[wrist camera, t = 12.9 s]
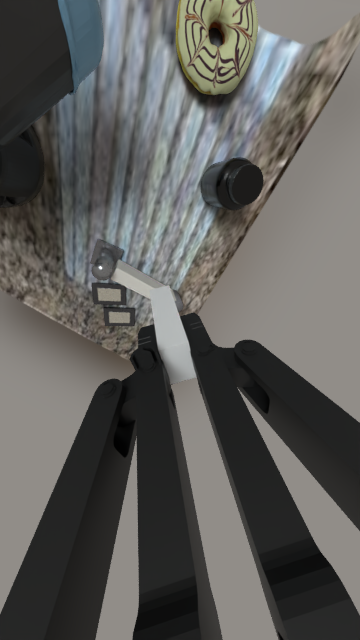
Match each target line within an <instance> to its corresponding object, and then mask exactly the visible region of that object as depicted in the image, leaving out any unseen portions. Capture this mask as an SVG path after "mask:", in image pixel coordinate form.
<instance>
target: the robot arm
mask: <svg viewBox="0 0 360 640" xmlns="http://www.w3.org/2000/svg"><path fill="white" fill-rule="evenodd" d="M103 44H104V36H103V25H102V18H101V13H100V7H99V2H98V0H0V208H9V207H15V206H19V205H23V204H25V203H27V202H29V201H31V200H32V199H33V198H34V197H35V196H36V195H37V194H38V192H39V190H40V189H41V186H42V183H43V179H44V159H43V154H42V150H41V146H40V144H39V141H38V139H37V136H36V134H35V132H34V130H33V128H32V126H31V125H32V124H33V123H34V122H35V121H37V120H38V119H39V118H40V117H41V116H42V115H44V114H45V113H46V112H47V111H48V110H49V109H51V108H52V107H53V106H54V105H55V104H56V103H58V102H59V101H60V100H61V99H62V98H63V97H65V96H66V95H67V94H68V93H69V94H70V95H73V94H74V93H76V91H77V89H78V86H79V84H80V83H81V82H82V81H83V80H84V79H85V78H86V77H87V76H88V75H89V74H90V73H91V72H92V71H93V70H94V69H95V68H96V67H97V66H98V64H99V62H100V60H101V56H102V50H103ZM149 291H150V297H151V304H152V311H153V318H154V324H153V325H150V326H146V327H142V328H141V329H140V331H139V333H138V340H139V341H138V344H139V345H138V349H136V350H135V351H134V352H133V353H132V355H131V357H130V361H131V362H132V364H133V366H134V368H135V370H136V371H135V372H134V373H133V374H132V375H131V376H129V377H127V378H126V379H124V380H122V381H120V380H118V379H110V380H107V381H105V382H103V383H102V384H101V385H100V386H99V387H98V388H97V390H96V392H95V394H94V396H93V398H92V401H91V403H90V405H89V408H88V410H87V412H86V415H85V417H84V419H83V422H82V424H81V426H80V429H79V431H78V434H77V436H76V438H75V440H74V443H73V445H72V447H71V450H70V452H69V455H68V457H67V459H66V462H65V464H64V466H63V469H62V471H61V473H60V476H59V478H58V480H57V483H56V485H55V488H54V490H53V492H52V494H51V497H50V499H49V501H48V504H47V506H46V508H45V511H44V513H43V516H42V518H41V520H40V522H39V525H38V527H37V530H36V532H35V534H34V537H33V539H32V541H31V544H30V546H29V548H28V551H27V553H26V555H25V558H24V560H23V562H22V565H21V567H20V569H19V572H18V574H17V576H16V579H15V581H14V583H13V586H12V588H11V590H10V593H9V595H8V597H7V600H6V602H5V604H4V607H3V609H2V612H1V614H0V640H95V638H96V633H97V628H98V623H99V618H100V613H101V608H102V603H103V599H104V594H105V588H106V584H107V579H108V574H109V569H110V564H111V559H112V554H113V549H114V544H115V539H116V534H117V529H118V525H119V520H120V515H121V509H122V505H123V500H124V495H125V490H126V485H127V480H128V475H129V470H130V465H131V460H132V455H133V450H134V446H135V440H136V436H137V482H138V483H137V487H138V488H137V489H138V549H139V550H138V554H139V555H138V556H139V608H138V616H137V620H136V624H135V628H134V632H133V640H222V635H221V629H220V624H219V620H218V615H217V610H216V606H215V602H214V599H213V595H212V591H211V588H210V583H209V578H208V573H207V568H206V562H205V557H204V552H203V547H202V541H201V536H200V531H199V525H198V520H197V515H196V510H195V505H194V499H193V494H192V489H191V484H190V478H189V473H188V468H187V463H186V457H185V452H184V447H183V442H182V437H181V431H180V426H179V421H178V416H177V410H176V405H175V400H174V395H173V392H172V389H171V385H172V384H175V383H178V382H182V381H185V380H188V379H192V378H196V377H197V379H198V384H199V388H200V391H201V394H202V397H203V400H204V403H205V406H206V409H207V413H208V416H209V419H210V422H211V425H212V428H213V431H214V435H215V438H216V441H217V444H218V447H219V450H220V453H221V457H222V460H223V463H224V466H225V469H226V472H227V475H228V478H229V482H230V485H231V488H232V491H233V494H234V497H235V500H236V504H237V507H238V510H239V513H240V516H241V520H242V523H243V526H244V529H245V532H246V535H247V538H248V541H249V545H250V548H251V551H252V554H253V557H254V560H255V563H256V567H257V570H258V573H259V577H260V580H261V584H262V588H263V591H264V594H265V597H266V601H267V604H268V607H269V610H270V613H271V617H272V620H273V623H274V626H275V629H276V632H277V636H278V639H279V640H360V615H359V613H358V611H357V609H356V607H355V606H354V604H353V602H352V600H351V598H350V596H349V594H348V593H347V591H346V589H345V587H344V585H343V583H342V582H341V580H340V578H339V577H338V575H337V574H336V572H335V570H334V569H333V567H332V566H331V564H330V563H329V562H328V561H327V559H326V558H325V557H324V556H323V555H322V553H321V552H320V550H319V549H318V547H317V545H316V544H315V542H314V540H313V538H312V536H311V534H310V532H309V530H308V528H307V526H306V524H305V522H304V520H303V518H302V516H301V514H300V512H299V510H298V508H297V506H296V504H295V502H294V500H293V498H292V496H291V494H290V492H289V490H288V488H287V486H286V484H285V482H284V480H283V478H282V476H281V474H280V472H279V470H278V468H277V466H276V464H275V462H274V460H273V458H272V456H271V454H270V452H269V450H268V448H267V446H266V444H265V442H264V440H263V438H262V436H261V434H260V432H259V430H258V428H257V426H256V424H255V422H254V420H253V418H252V416H251V414H250V412H249V410H248V408H247V406H246V404H245V402H244V400H243V398H242V396H241V394H240V392H239V390H240V391H241V392H242V393H243V395H244V396H245V397H246V398H247V399H248V400H249V402H250V403H251V404H252V405H253V406H254V407H255V409H256V410H257V411H258V412H259V413H260V414H261V416H262V417H263V418H264V419H265V420H266V422H267V423H268V424H269V425H270V426H271V427H272V429H273V430H274V431H275V432H276V433H277V434H278V436H279V437H280V438H281V439H282V440H283V441H284V443H285V444H286V445H287V446H288V447H289V448H290V450H291V451H292V452H293V453H294V454H295V456H296V457H297V458H298V459H299V460H300V461H301V462H302V464H303V465H304V466H305V467H306V468H307V470H308V471H309V472H310V473H311V474H312V475H313V477H314V478H315V479H316V480H317V481H318V483H319V484H320V485H321V486H322V487H323V488H324V490H325V491H326V492H327V493H328V494H329V495H330V497H331V498H332V499H333V500H334V501H335V502H336V504H337V505H338V506H339V507H340V508H341V510H342V511H343V512H344V513H345V514H346V515H347V516H348V518H349V519H350V520H351V521H352V522H353V523H354V525H355V526H356V527H357V528H358V529H359V531H360V423H359V422H358V421H357V420H356V419H354V418H353V417H352V416H350V415H349V414H348V413H347V412H345V411H344V410H343V409H342V408H340V407H339V406H338V405H337V404H335V403H334V402H333V401H331V400H330V399H329V398H328V397H327V396H325V395H324V394H323V393H321V392H320V391H319V390H318V389H316V388H315V387H314V386H313V385H311V384H310V383H309V382H308V381H306V380H305V379H304V378H303V377H301V376H300V375H298V373H296V372H295V371H294V370H292V369H291V368H290V367H289V366H287V365H286V364H285V363H284V362H282V361H281V360H280V359H279V358H277V357H276V356H275V355H274V354H272V353H271V352H270V351H269V350H267V349H266V348H264V346H262V345H261V344H260V343H258V342H256V341H253V340H243V341H239V342H238V343H237V344H236V345H235V347H234V348H222V347H218V346H216V345H215V344H213V343H212V341H211V339H210V337H209V335H208V333H207V331H206V329H205V327H204V325H203V323H202V321H201V319H200V317H199V316H198V315H197V314H195V313H191V314H187V315H183V316H179V313H178V310H177V307H176V304H175V301H174V298H173V296H172V293H171V290H170V287H169V285H167V286H163V287H160V288H156V289H152V290H149ZM170 383H171V384H170ZM237 387H238V388H237ZM238 389H239V390H238Z"/></svg>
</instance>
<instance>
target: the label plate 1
mask: <svg viewBox="0 0 360 640" xmlns="http://www.w3.org/2000/svg"><path fill="white" fill-rule="evenodd" d="M92 292H93V301H94V304H109V305H126V287H125V286H123V285H121V284H111V283H92Z"/></svg>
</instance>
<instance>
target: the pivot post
mask: <svg viewBox="0 0 360 640" xmlns="http://www.w3.org/2000/svg"><path fill="white" fill-rule="evenodd" d="M122 253H123V249H120V248H118V247H116V246H114V245H111V244H109V243H107V242H105V241H103V240H100V239H98V240H97V243H96V246H95V249H94V253H93V256H92V259H91V264H94V265H93V267H92V274H93V276H94V277H95V278H97V279H99V280H107V279H108V278H109V277H110V275H111V272H112V271H113V268H114V267H115V265H116V263H117V261H118V259H121V256H122Z"/></svg>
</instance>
